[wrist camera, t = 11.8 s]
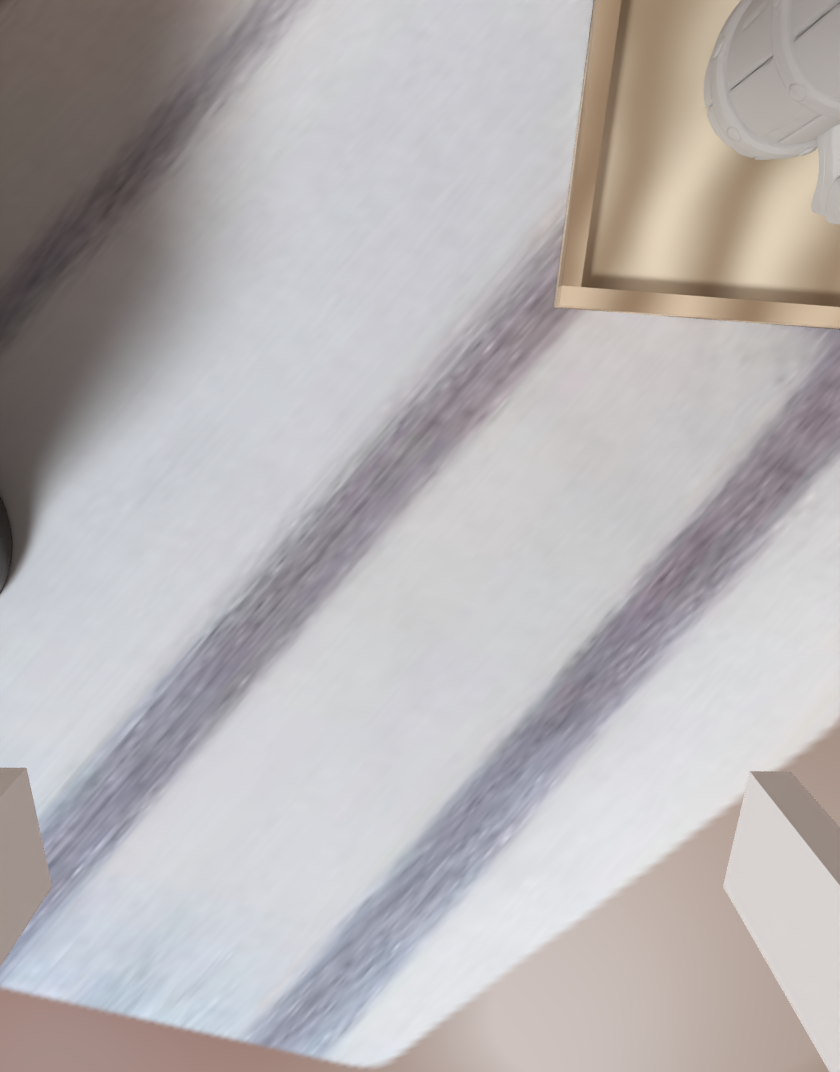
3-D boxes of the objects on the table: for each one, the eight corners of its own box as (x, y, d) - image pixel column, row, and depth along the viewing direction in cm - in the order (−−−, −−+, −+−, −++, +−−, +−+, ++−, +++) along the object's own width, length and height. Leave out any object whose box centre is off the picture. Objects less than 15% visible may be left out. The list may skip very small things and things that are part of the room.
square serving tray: (553, 307, 34) (559, 305, 32) (610, -131, 28) (620, -156, 26) (889, 333, 34) (910, 332, 33) (1014, -95, 28) (1046, -119, 27)
